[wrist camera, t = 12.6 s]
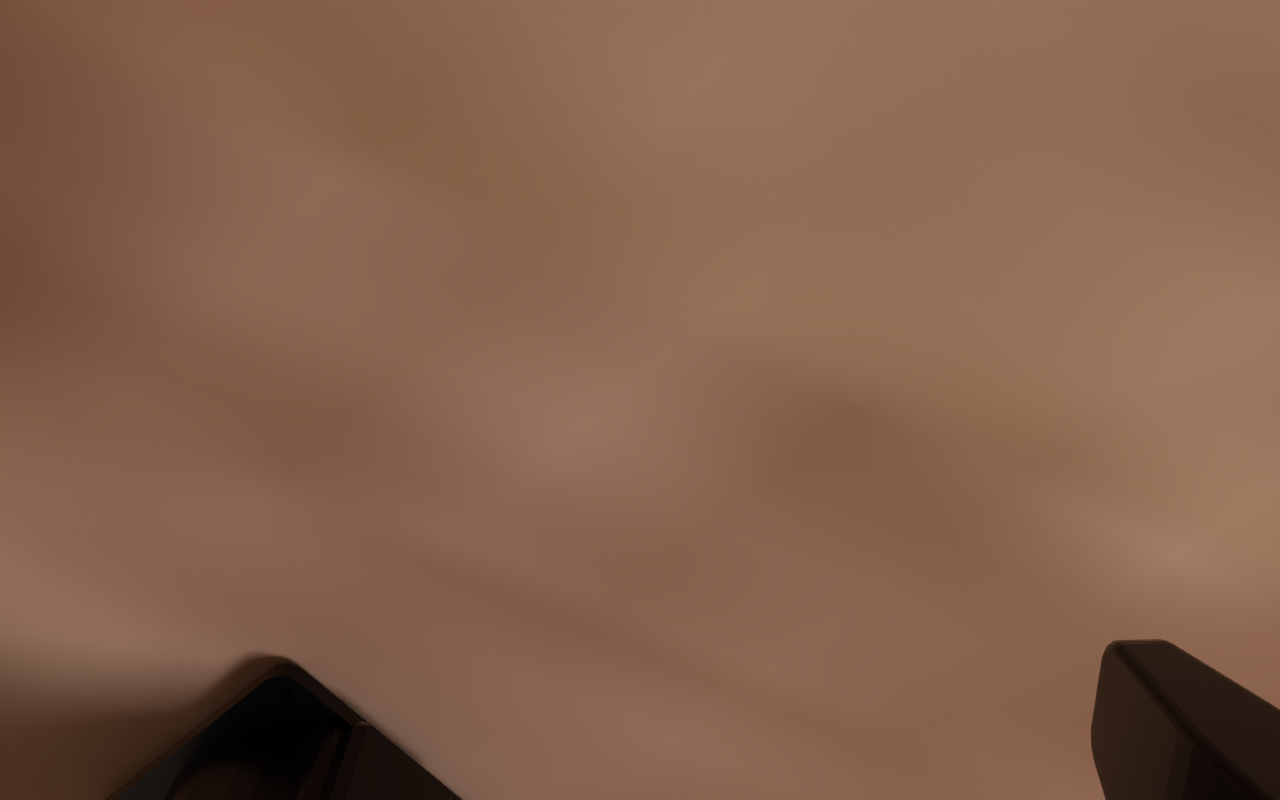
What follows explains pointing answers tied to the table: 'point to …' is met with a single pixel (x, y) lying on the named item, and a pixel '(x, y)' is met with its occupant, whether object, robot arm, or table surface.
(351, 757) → the robot arm
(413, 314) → the table surface
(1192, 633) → the table surface
